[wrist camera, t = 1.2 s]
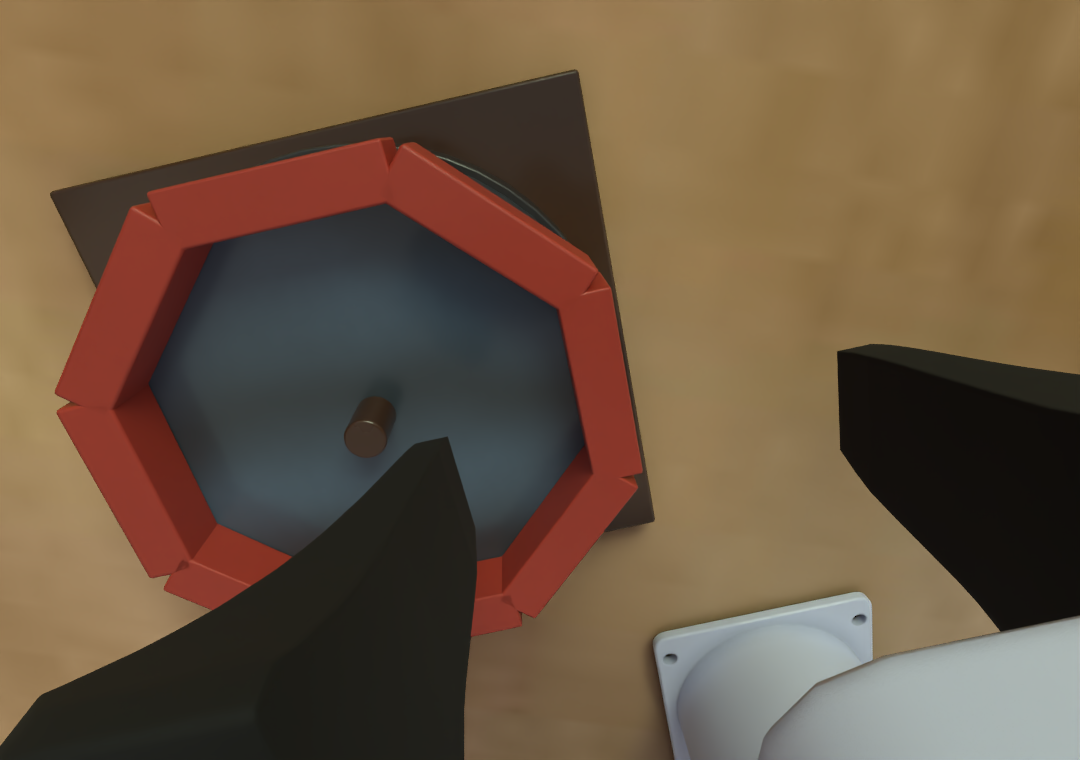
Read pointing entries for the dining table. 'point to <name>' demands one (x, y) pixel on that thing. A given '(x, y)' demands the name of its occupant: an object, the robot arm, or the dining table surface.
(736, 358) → the dining table surface
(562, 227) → the stand
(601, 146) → the dining table surface
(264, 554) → the brick ring
